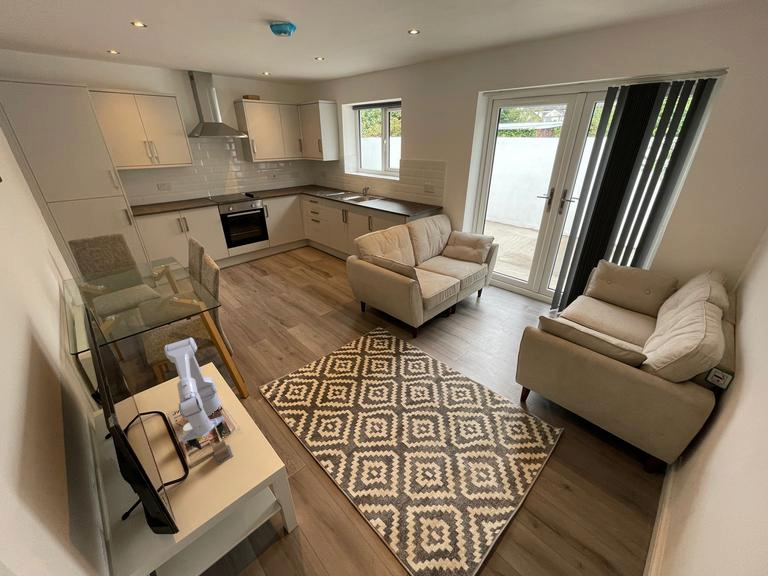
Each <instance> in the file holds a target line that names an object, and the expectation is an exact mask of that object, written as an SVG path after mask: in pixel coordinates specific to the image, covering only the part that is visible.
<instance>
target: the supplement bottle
mask: <svg viewBox="0 0 768 576" xmlns="http://www.w3.org/2000/svg"><path fill="white" fill-rule="evenodd" d="M192 429H193V428H192V427H191V425H190V423H189V422H187V423H185V424H184V426H183V427H182V430H183V436H185V435H186V434H188V433H189V432H190V431H191V430H192ZM202 438H203V436H202V437H198V438H196V439H197V440H198V441H201V439H202ZM203 439H204V438H203ZM203 439H202V440H203ZM201 442H202V441H201Z"/></svg>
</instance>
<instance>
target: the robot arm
mask: <svg viewBox="0 0 768 576" xmlns="http://www.w3.org/2000/svg"><path fill="white" fill-rule="evenodd" d="M163 349H164V354H165V356H166V358H167V359H168V360H169V361H170V362H171V363H173V364H175V368H176V371H177V375H178V378H179V381H178V382H177V385H176V386H177V387H176V388H177V391H178V396H179V397H178V398H179V403H178V412H179V414H180V415H181V417H182V418H183V419H184V420H185V421H187V423H190V425H191V427H192V428H193V429H192V430H191V431H190V432H189V433H188V434H186V435H185V436H184V435H183V436H182V437H181V441H183V442H182V444H183V443H184V444H186V445H187V444H188V446H189V447H190V448H191V447H192V448H197V449H198V450H201V451H202V449H203V448H202V444H201V442H200V443H199V441H198V440H197V439H196V438H198V437H202V436H203V439H204V438H207V437H208V436H209V435H210V432H212V431H213V430H214V429H215V427H216V429H217V431H218V433H219V435H220V437H221V439H222V438H223V430H224V423H226V420H225V418H224V415H221V416H219V417H215V418H212V419H210V418H209V416H211V415H213V414H215V413H214V411H216V410H217V409H218V407H219V406H220V405H221V406H222V408H223V409H224V406H223V404H222V401H221V399H220V397H219V395H218V394H217V393H218V389H217V384H216V382H215V380H214V379H213V377H212V376H204V374H203V372H202V370H201V369H202V368H200V365H199V363H198V361H197V359H196V356H195V353H196V352H197V350H198V346H197V344H196V341H195V339H194V338H193V337H189V338H186V339H183V340H179V341H175V342H172V343H169V344H165V346H164V348H163ZM212 413H213V414H212ZM216 429H215V430H216Z"/></svg>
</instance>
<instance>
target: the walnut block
mask: <svg viewBox="0 0 768 576" xmlns="http://www.w3.org/2000/svg"><path fill="white" fill-rule="evenodd" d="M221 440H222V439H221ZM227 445H228V444H227V443H226V442H225V440H224V439H223V440H222V441H221V442H220V441H219V442H217V443H216V444H214V445H212V451H214V454H215V456H216V458H217V460H218V461H219V462H221V461H222V460H224V459H226V458H227V457H229V456H231V455H230V452H229V450H228V447H227ZM214 454H213V455H214ZM215 456H214V457H215Z"/></svg>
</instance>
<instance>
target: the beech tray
mask: <svg viewBox="0 0 768 576" xmlns="http://www.w3.org/2000/svg"><path fill="white" fill-rule="evenodd" d="M214 429H215V432H216V433H217V437H218V440H219V442H221V441H222V438H221V437H220V435H219V433H218V431H217V429H216V427H215V428H214ZM181 441H182V440H181ZM182 446H183V449H184V454H185V458H186V462H187V466H188V468H189V469H191V468H192V466H193V467H194V466H197V465H198V464H199V463H201V462H202V461H205V460H206V459H208V458H210V457H212V456H214V451H213V450H211V451H210V452H208V453H207V454H205V455H203V456H201V457H200V458H197V459H196V460H194V461H192V462H191V460H189V459H190V457H189V456H188V455H189V453H188V454H187V451H188V448H187V449H186V447H187V444H186V445H185V444H184V443H183V441H182Z"/></svg>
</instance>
